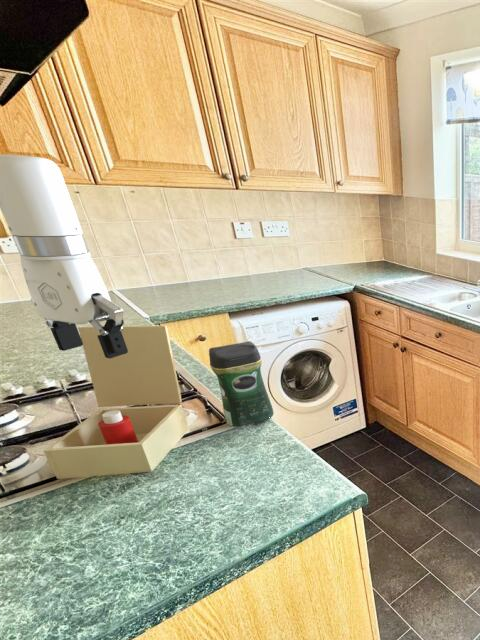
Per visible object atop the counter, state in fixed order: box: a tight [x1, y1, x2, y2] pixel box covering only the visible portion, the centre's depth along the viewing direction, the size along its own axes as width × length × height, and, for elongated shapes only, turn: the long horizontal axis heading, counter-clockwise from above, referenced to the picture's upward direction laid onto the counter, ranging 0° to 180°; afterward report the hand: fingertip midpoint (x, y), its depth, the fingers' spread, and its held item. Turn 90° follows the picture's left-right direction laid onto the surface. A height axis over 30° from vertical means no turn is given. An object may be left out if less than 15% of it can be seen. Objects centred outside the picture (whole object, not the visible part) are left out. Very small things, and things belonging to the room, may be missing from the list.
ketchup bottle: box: [98, 410, 138, 445], centre depth 81 cm, size 4×4×9 cm
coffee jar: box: [208, 340, 275, 428], centre depth 95 cm, size 10×8×19 cm
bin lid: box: [77, 325, 183, 408], centre depth 86 cm, size 16×15×1 cm
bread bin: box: [43, 404, 190, 480], centre depth 82 cm, size 16×15×7 cm
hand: (94, 351), depth 71 cm, fingers open, 9 cm apart
